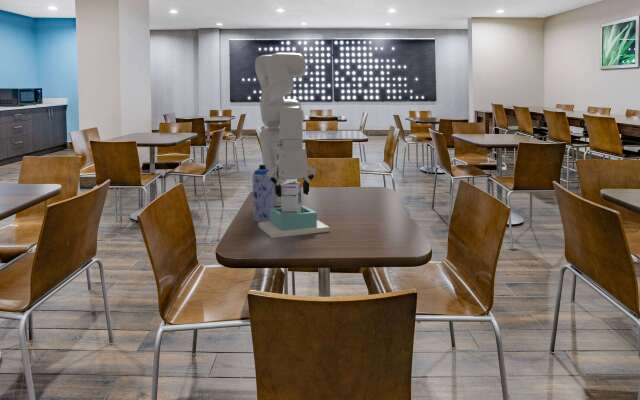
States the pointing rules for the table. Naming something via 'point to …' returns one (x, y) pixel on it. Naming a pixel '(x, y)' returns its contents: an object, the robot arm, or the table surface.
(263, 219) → the aerosol can
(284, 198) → the syrup box
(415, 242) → the table surface
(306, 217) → the socket board
